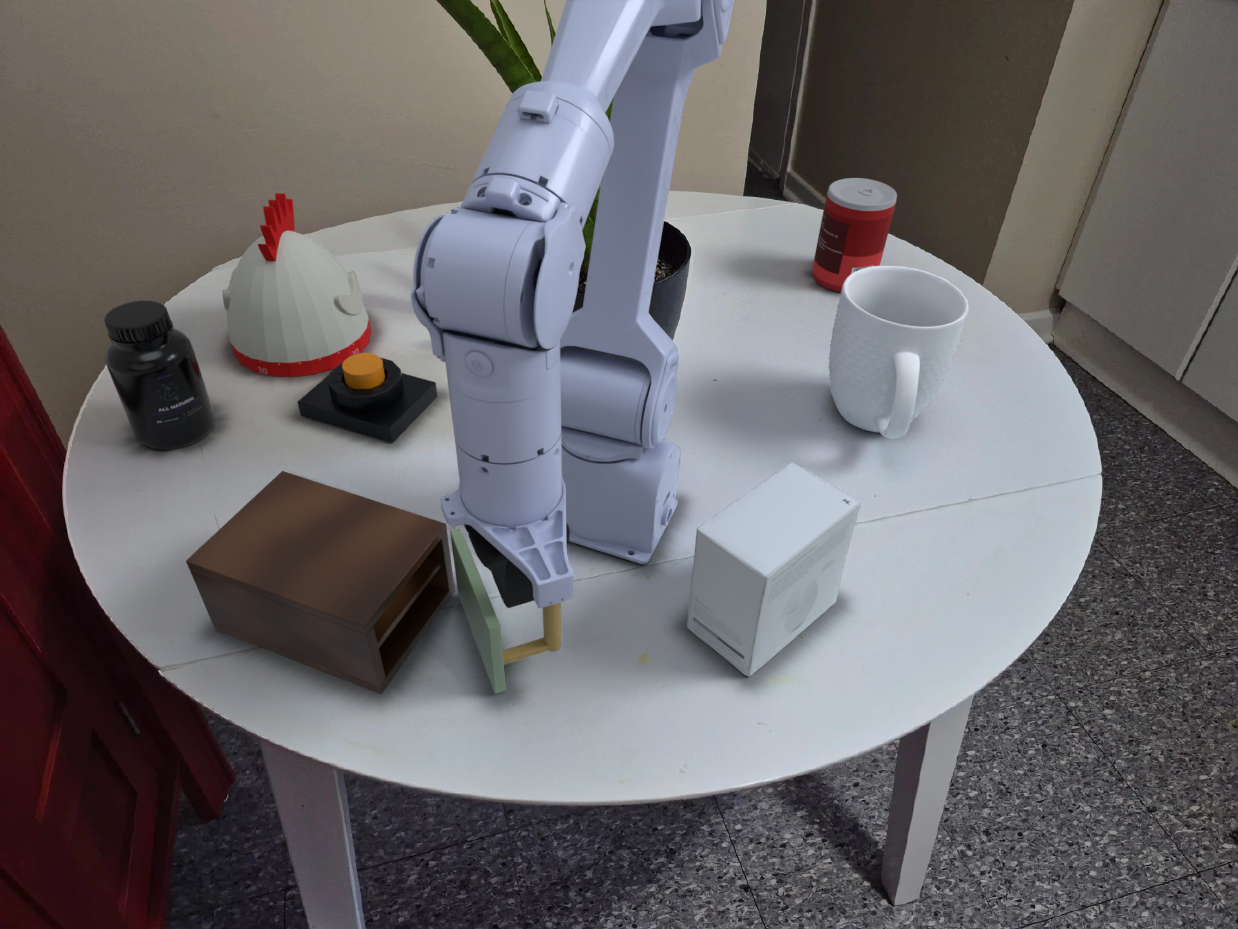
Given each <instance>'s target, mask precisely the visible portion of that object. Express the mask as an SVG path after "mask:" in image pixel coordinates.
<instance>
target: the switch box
mask: <svg viewBox="0 0 1238 929" xmlns="http://www.w3.org/2000/svg"><path fill="white" fill-rule="evenodd" d="M379 357H380V358H381V359H382V362H383V368H384V373H385V380H384V382H383V383H382V384H381V385H378V386H376V387H373V388H370V389H353V388H350V387H348V386H347V384H346V382H345V378H344V373H343V368H342V364H343V363H341V364H339V365H338V366H337V367H336V368H334V369H331V370H330V372H329V374H328V375H327V376H325V377H324V378H323V379H321V381H320V382H318V384H316V385H315V386H314V387H313V388H312V389H310V390H309V391H308V392H307V393H306V394H305V395H303V396H302V397H301V398H300V399H298V401H297V402H296V403H297V407H298V411H299V415H300V416H301V417H303V418H306V419H310V420H313V421H316V422H320V423H323V424H326V425H329V426H332V427H336V428H340V429H342V430H345V431H349V432H352V433H355V434H360V435H361V436H362V435H363V436H365V437H370V438H373V439H376V440H379V441H382V442H386V443H390V444H394V442H395V441H396V440H397V439H398V438H399V437H400V436H401V435H402V434H403V433H404V432H405V431H406V430H407V429H408V427H410V425H411V424H413V422H415V420H416V419H418V417H419V416H420V415H421V414H422V413H423V412H424V411H425V410H426V409H427V408H428V407H429V406H430V405H431V404H432V402H434V400H436V399H437V397H438V391H437V390H438V388H437V382H436V381H432V380H428V379H425V378H421V377H418V376H416V375H415V376H414V375H411V374H407V373H404V372H402V370H401V368H400V366H398V365H397V364H396V363H395V362H394V361H393V360H391V359H387V358H383V357H381V356H379Z"/></svg>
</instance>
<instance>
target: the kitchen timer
mask: <svg viewBox="0 0 1238 929" xmlns="http://www.w3.org/2000/svg"><path fill="white" fill-rule="evenodd" d="M274 193H275V194H274V198H275V199H268V200H267V201H268V202H267V203H268V205H263V206H262V211H263V216H264V221H265V224H259V228H260V231H261V234H262V235H261V236H260V237H258V238H257V239H256V240H255V241H253V242H252V244H250V245H249V247H247V249H245V251H244V252H243V254H242V255H241V257H240V259H239V261H238V263H237V265H236V267H235V268H234V269H233V270H232V272H231V276H230V280H229V283H228V287H227V288H226V289H222V291H221V292H222V301H223V303H222V304H223V307H224V309H225V310H226V312H227V313H226V324H227V331H228V336H229V342H230V346H231V349H232V352H233V355H234V358H235V359H236V360H237V361H238V362H239V363H240V365H241V366H243V367H245V368H246V369H249V370H250V371H252V372H254V373H257V374H262V375H267V376H269V377H285V378H287V377H288V378H295V377H302V376H312V375H316V374H320V373H324V372H327V371H332V370H334V369H335V368H336V367H337V366H338V365H339V364H341V363H343V362H344V361H345V360H346V359H347V358H348V357H350V356H353V355H355V354H360V353H363V351H364V350H365V348H366V347H367V346H368V344H369V343H370V339H371V334H372V329H371V323H370V319H369V315H368V314H369V313H368V311H367V309H366V306H365V304H364V296H363V293H362V289H361V286H360V282H359V280H358V278H357V275H356V272H355V270H351V271H347V270H346V268H345V267H344V266H343V265H342V263H341V262H340V261H339V260H338V258H337V257H336V256H334V255H333V253H331V252H330V251H329V250H327V249H326V247H324V246H323V245H322V244H321V243H319V242H318V241H316V240H315V239H313V238H311V237H309V236H307V235H305V234H302V233H299V232H296V231H295V230H296V229H295V210H294V200H293V198H287V195H286V193H283V192H282V193H279V192H274Z"/></svg>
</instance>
